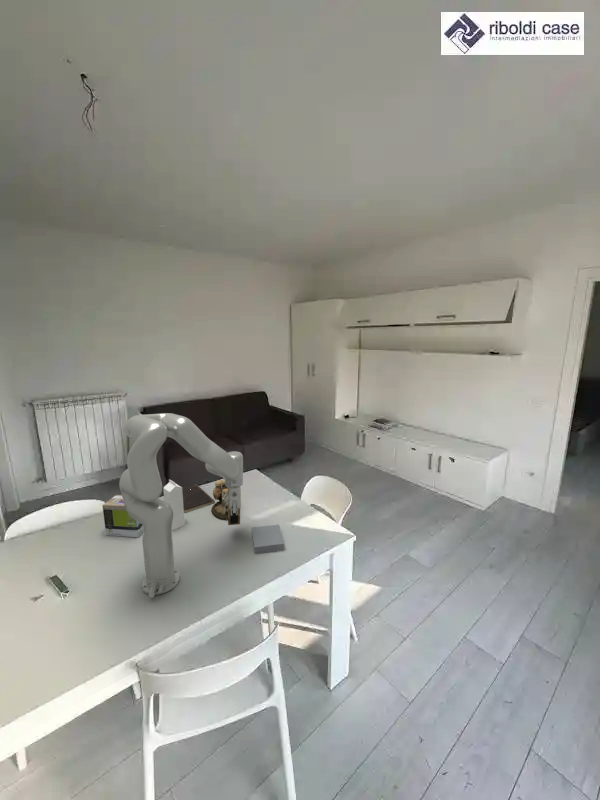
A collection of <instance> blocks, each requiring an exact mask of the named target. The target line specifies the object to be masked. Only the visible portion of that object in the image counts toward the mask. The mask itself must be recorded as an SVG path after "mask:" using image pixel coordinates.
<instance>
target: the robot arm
mask: <svg viewBox="0 0 600 800" xmlns="http://www.w3.org/2000/svg"><path fill="white" fill-rule="evenodd" d="M123 430H124V433H125V435H126V436H127V437H128V438H129V439H130V440H133V441H134V443H133V444H132V446H131V448H130V449H129V452H128V453H127V455H126V456H127V457H126V465H127V466H126V467H127V468H126V469H125V470H124V471H123V473H122V474H121V476H120V478H119V484H118V485H119V489H120V493H121V494H120V495H122V497H123V500H124V503H125V506H126V509H127V512H128V514H129V515H130V516H131V517H132V518H133V519H135V520H137V521H138V522H139V523H141V524H142V525H143V526H144V528H145V531H144V532H143V533H142V534H143V535H142V541H141V542H142V549H143V550H142V551H143V561H144V562H143V563H144V572H145V577H143V579H142V581H141V589H142V591H143V593H145V594H147V596H148V597H149V598H154V597H155V596H158V595H161V594H166V593H168V592H170V591H171V590H172V589H174V588H175V587H176V586H177V585H178V583H179V581H180V578H181V577H180V571H179V570H178V569H177V568H175V556H174V543H173V531H172V522H173V510H172V508H171V506H170V505H169V504H168V503H167V502H165V501H164V500H163V499H162V498H160V496H161V495H162V492H163V483H162V479H161V475H160V472H159V468H158V467H159V466H158V463H157V462H158V461H157V455H158V452H159V450H160V449H161V447H162V446H163V444H164V443H165V442H166V441H167V438H170V439H173V440H174V441H176V442H177V443H178V444H179V445H180V446H181V447H182V448H184V449H183V450H185V451H187V453H188V454H189V455H191V456H192V457H194V458H195V459H197V460H199V461H201V462H203V463H205V466H204V467H205V469H206V471H207V472H208V473H210V474H212V475H215V476H218V477H220V478H222V479H225V486H227V487H228V501H229V509H230V510H231V515H230V523H231V524H237V523H238V510H237V509H240V510H241V509H242V490H241V489H242V488H241V487H242V486H243V485H244V456H243V453H241V452H240V451H228V452H227V451H226V450H224V448H222V447H220V446H219V445H217V443H216V442H214V441H212V440H211V439H210V438H209V437H207V436H206V435H205V433H204V432H203V431H202V430H201V429H200V428H199V427H198V426H197V425H196V424H195V423H194V422H193V421H192V420H191V419H190V418H188V417H186V416H183V415H179V414H175V413H171V412H169V413H168V412H167V413H166V412H163V413H152V414H151V413H149V414H136V415H133V416H131V417H130V418H129V419H128V420H126V422H125V425H124V429H123ZM236 506H237V508H236ZM232 507H233V508H232ZM232 510H233V511H232Z"/></svg>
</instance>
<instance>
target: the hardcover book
mask: <svg viewBox="0 0 600 800" xmlns="http://www.w3.org/2000/svg"><path fill="white" fill-rule="evenodd" d="M190 489H191V490H190ZM182 493H183V509H184V514H186V513H189V512H192V511H195V510H197V509H201V508H204V507H207V506H210V505H212V504H213V505H214V504H216V500H215V499H214V498H212V497H211V496H210V495H209V494H208V493H207V492H206V491H205V490H204V489H203V488H201V487H200V486H199V485H198V484H193V485H190V486H186V487H182Z"/></svg>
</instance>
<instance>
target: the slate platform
mask: <svg viewBox="0 0 600 800" xmlns="http://www.w3.org/2000/svg"><path fill="white" fill-rule="evenodd" d="M251 535H252V536H251V537H252V546H253V552H254V555H257V554H262V553H264V554H265V553H271V552H272V551H273V552H278V551H277V550H281V551H284V550H285V542H284V539H283V535H282V531H281V528H280V524H272V525H271V524H270V525H263V526H262V525H261V526H255V527H254V526H253V527H251ZM283 549H284V550H283Z"/></svg>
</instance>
